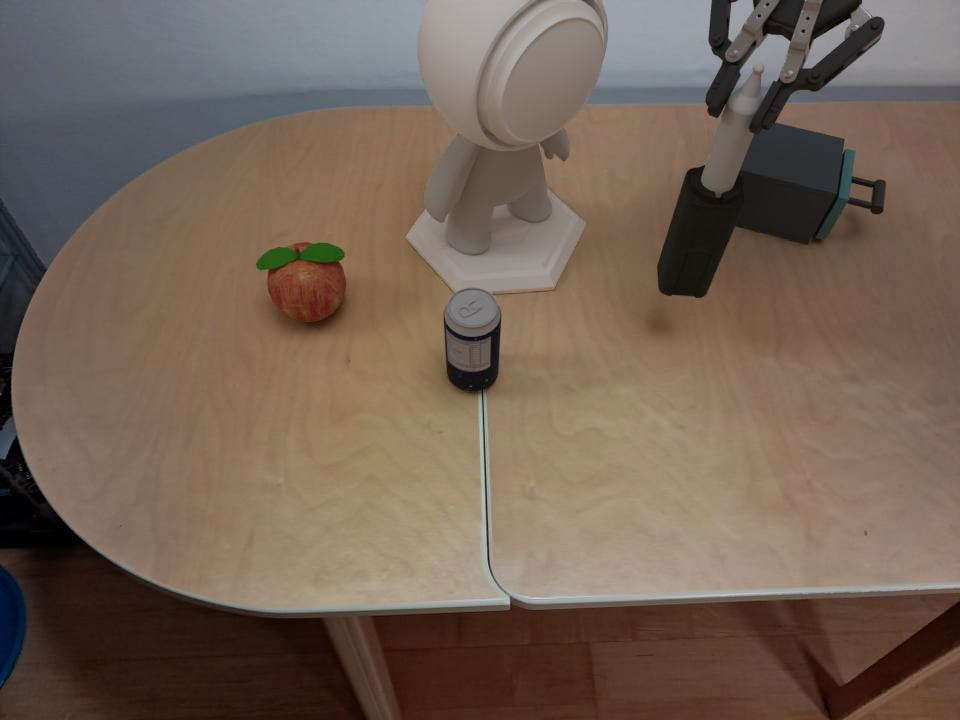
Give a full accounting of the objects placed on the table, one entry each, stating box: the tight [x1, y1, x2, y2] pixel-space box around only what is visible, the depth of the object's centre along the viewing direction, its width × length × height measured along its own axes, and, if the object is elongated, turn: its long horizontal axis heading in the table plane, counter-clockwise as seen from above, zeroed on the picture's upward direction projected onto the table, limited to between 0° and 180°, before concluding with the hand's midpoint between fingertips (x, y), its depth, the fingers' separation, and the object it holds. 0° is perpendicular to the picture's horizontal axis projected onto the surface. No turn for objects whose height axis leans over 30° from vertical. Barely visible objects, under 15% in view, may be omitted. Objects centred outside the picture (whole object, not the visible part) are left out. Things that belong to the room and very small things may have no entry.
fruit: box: [255, 241, 347, 323], centre depth 78 cm, size 9×10×10 cm
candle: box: [656, 62, 765, 299], centre depth 64 cm, size 5×5×25 cm
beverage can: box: [442, 287, 502, 393], centre depth 72 cm, size 6×6×12 cm
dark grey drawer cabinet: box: [735, 122, 846, 246], centre depth 89 cm, size 13×11×9 cm
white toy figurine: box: [405, 0, 609, 296], centre depth 75 cm, size 20×23×35 cm
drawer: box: [815, 148, 887, 241], centre depth 88 cm, size 16×9×7 cm, turn 69°
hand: (732, 122), depth 56 cm, fingers closed on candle, 3 cm apart
